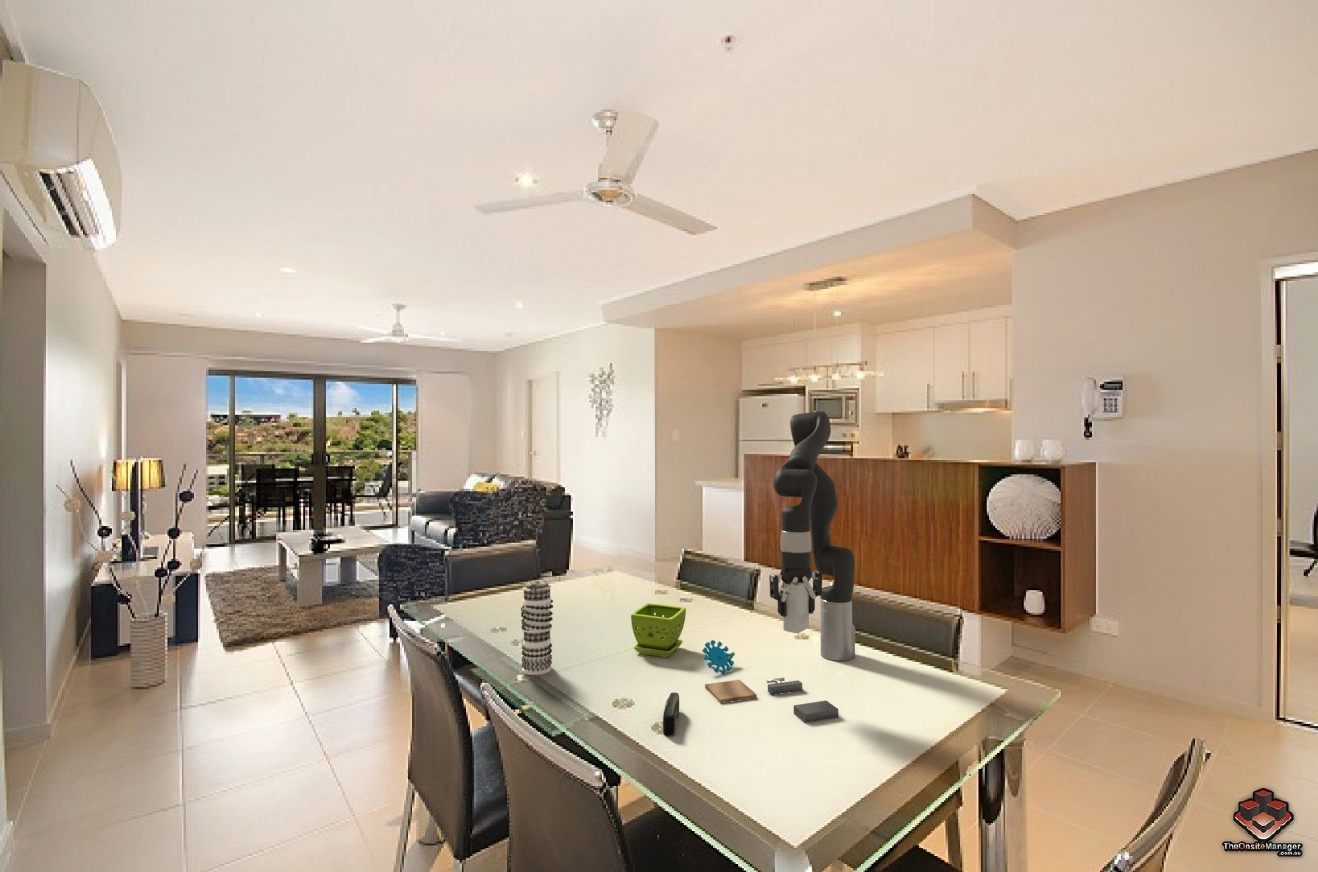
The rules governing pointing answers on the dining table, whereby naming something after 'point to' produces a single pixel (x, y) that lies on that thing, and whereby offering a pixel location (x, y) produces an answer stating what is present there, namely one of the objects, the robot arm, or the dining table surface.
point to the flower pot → (658, 628)
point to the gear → (718, 656)
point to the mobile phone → (671, 714)
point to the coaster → (730, 691)
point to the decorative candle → (536, 628)
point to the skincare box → (797, 608)
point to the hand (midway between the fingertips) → (796, 614)
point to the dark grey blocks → (804, 711)
